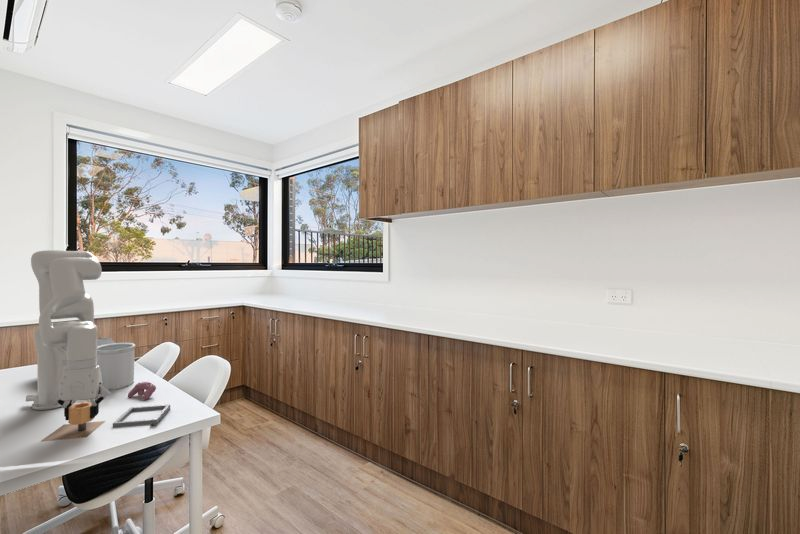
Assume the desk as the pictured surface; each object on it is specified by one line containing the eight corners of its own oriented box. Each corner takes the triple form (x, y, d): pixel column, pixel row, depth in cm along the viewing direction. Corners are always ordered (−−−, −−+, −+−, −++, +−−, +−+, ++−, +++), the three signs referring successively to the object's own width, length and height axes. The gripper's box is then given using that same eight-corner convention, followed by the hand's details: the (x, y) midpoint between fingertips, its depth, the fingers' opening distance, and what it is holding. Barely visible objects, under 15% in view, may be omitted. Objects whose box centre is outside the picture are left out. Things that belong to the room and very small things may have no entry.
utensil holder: (127, 389, 161) (127, 349, 161) (86, 392, 157) (86, 351, 157) (140, 378, 175) (140, 341, 175) (103, 381, 171) (103, 343, 171)
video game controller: (152, 401, 152) (160, 384, 155) (143, 400, 148) (150, 382, 151) (135, 398, 155) (142, 381, 158) (125, 397, 151) (133, 379, 154)
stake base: (40, 444, 113) (40, 425, 113) (63, 426, 125) (63, 410, 125) (86, 439, 116) (86, 421, 116) (105, 423, 128) (105, 407, 128)
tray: (112, 429, 123) (112, 423, 123) (130, 412, 137) (130, 407, 137) (156, 425, 127) (156, 419, 127) (170, 409, 140) (170, 404, 140)
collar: (62, 427, 116) (62, 411, 116) (76, 417, 124) (76, 402, 123) (85, 425, 118) (85, 410, 118) (97, 415, 125) (97, 401, 125)
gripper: (42, 368, 115) (42, 425, 115) (107, 365, 120) (107, 420, 120) (57, 361, 122) (57, 415, 123) (118, 359, 127) (117, 410, 127)
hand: (81, 417), depth 121 cm, fingers closed on collar, 6 cm apart
